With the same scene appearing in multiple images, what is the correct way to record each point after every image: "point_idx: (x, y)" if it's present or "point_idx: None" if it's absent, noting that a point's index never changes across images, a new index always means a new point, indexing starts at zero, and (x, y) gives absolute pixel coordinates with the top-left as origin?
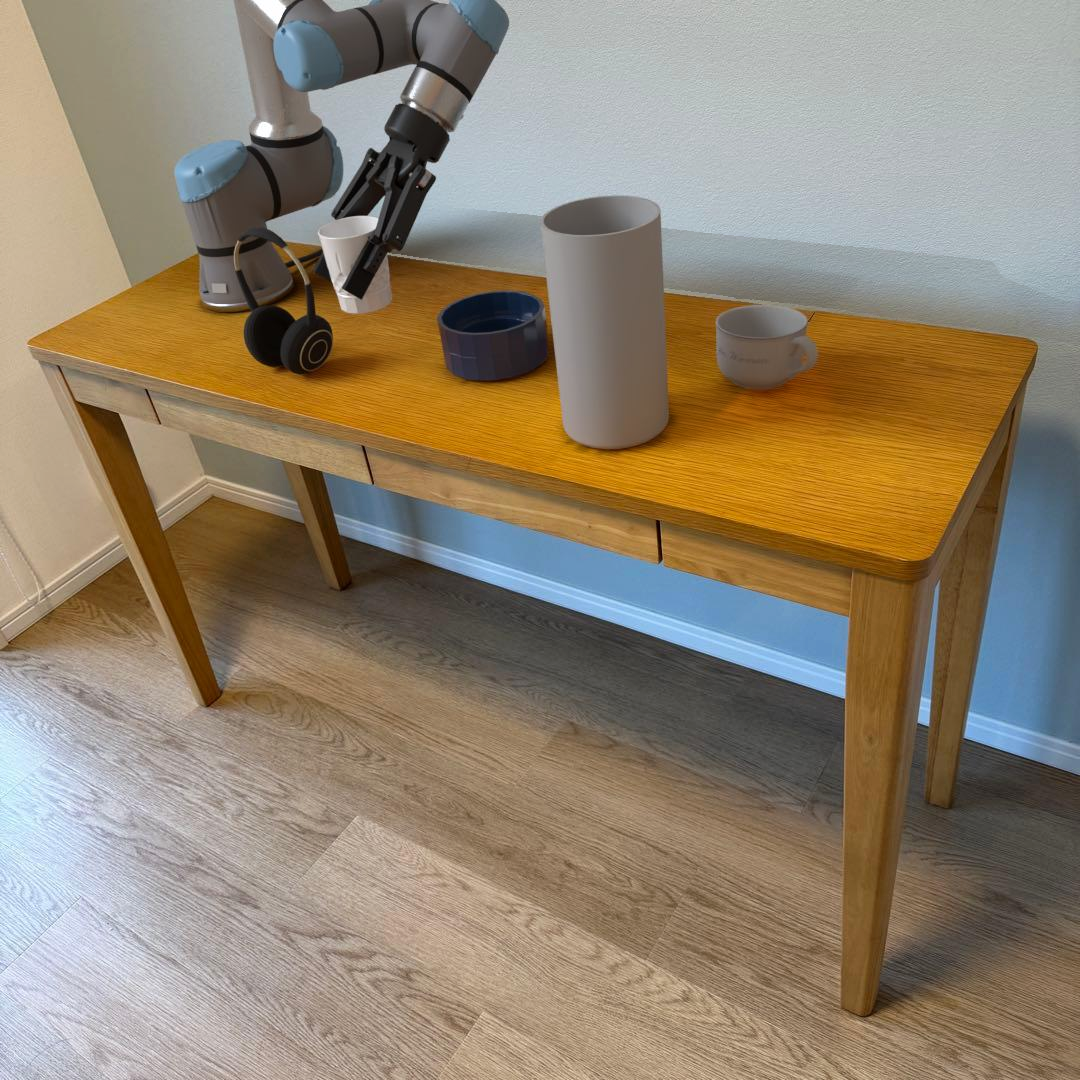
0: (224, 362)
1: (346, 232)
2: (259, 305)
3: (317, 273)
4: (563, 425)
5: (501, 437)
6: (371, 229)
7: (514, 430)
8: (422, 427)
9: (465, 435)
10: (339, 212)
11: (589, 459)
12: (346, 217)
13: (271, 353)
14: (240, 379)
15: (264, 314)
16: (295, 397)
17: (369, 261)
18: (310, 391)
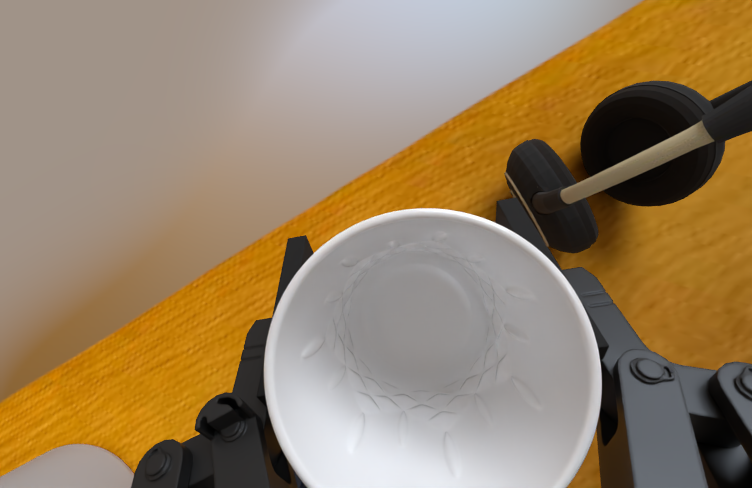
0: (683, 77)
1: (552, 367)
2: None
3: (498, 210)
4: (94, 450)
5: (151, 370)
6: (493, 473)
7: (156, 393)
8: (242, 290)
9: (185, 332)
10: (726, 411)
11: (37, 437)
12: (619, 416)
13: (594, 138)
14: (588, 91)
15: (675, 123)
16: (457, 156)
17: (255, 347)
18: (462, 182)
